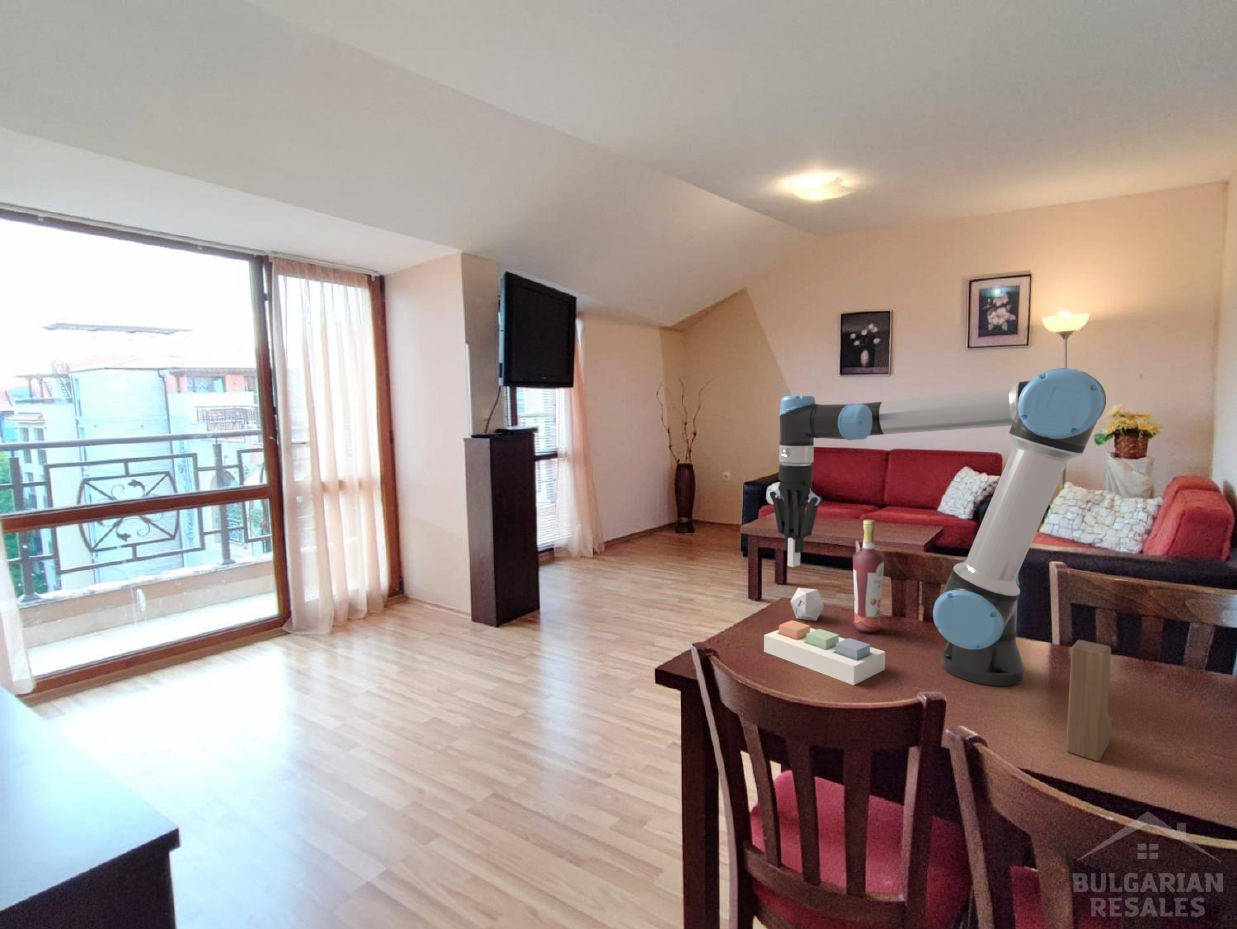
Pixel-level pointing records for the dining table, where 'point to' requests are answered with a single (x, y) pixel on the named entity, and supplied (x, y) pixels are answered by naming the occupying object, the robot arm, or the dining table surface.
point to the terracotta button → (794, 630)
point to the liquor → (867, 582)
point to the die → (807, 604)
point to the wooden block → (1089, 700)
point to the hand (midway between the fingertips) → (793, 565)
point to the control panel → (824, 658)
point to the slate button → (853, 649)
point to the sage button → (822, 639)
